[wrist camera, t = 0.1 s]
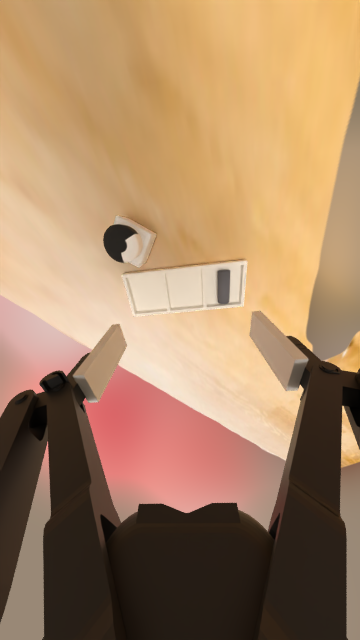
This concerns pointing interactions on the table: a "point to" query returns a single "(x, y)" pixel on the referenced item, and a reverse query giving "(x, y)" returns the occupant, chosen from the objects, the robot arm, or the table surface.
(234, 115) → the table surface
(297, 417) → the robot arm
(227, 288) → the grey cylinder
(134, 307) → the organiser
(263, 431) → the table surface
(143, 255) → the medicine bottle
